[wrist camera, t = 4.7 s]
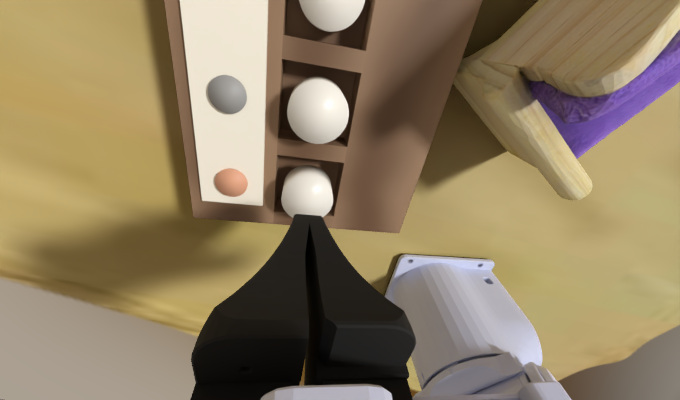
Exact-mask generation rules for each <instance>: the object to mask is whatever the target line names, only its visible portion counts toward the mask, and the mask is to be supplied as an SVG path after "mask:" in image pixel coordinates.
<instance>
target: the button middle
mask: <svg viewBox="0 0 680 400" xmlns="http://www.w3.org/2000/svg"><path fill="white" fill-rule="evenodd" d="M287 116H288V121H289V124H290V126H291V128H292V130H293V131H294V132H295V133H296V135H297V136H299V137H300V138H301V139H303V140H305V141H307V142H310V143H314V144H324V143H328V142H330V141H333V140H334V139H336V138H337V137H338V136H340V134H341V133H342V132H343V131H344V129H345V127H346V125H347V123H348V118H349V108H348V104H347V101H346V99H345V97H344V95H343V93H342V91H341V90H340V88H339V87H338V86H337V85H336V84H335V83H334V82H333V81H331V80H330V79H328V78H325V77H321V76H312V77H308V78H306V79H304V80H302V81H301V82H299V83H298V84H297V85H296V86H295V88H294V89H293V91H292V93H291V96H290V100H289V103H288V108H287Z"/></svg>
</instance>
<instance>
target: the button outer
mask: <svg viewBox="0 0 680 400" xmlns="http://www.w3.org/2000/svg"><path fill="white" fill-rule="evenodd" d="M299 2H300V5H301V8H302V11H303V13H304V15H305V16H306V18H307V19H308V21H309V22H310V23H311V24H312V25H314V26H315V27H316V28H318V29H320V30H323V31H328V32H334V31H340V30H343V29H345V28H347V27H349V26H350V25H351V24H353V23H354V22H355V20H356V19H357V18H358V17H359V15H360V13H361V11H362V9H363V6H364V3H365V0H299Z"/></svg>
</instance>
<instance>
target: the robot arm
mask: <svg viewBox="0 0 680 400" xmlns="http://www.w3.org/2000/svg"><path fill="white" fill-rule="evenodd" d="M410 259H411V260H410ZM494 265H495V264H494V262H493V261H492V260H489V259H473V258H457V257H441V256H424V255H408V254H404V255H401V256H400V257H399V259H398V262H397V264H396V267H395V270H394V272H393V275H392V278H391V280H390V283H389V285H388V288H387V291H386V293H385V296H383V295H382V294H380V293H379V292H378V291H377V290H376V289H374V288H373V287H372V286H371V285H370V284H369V283H368V282H367V281H366V280H365V279H364V278H363V277H362V276H361V275H360V274H359V273H358V272H357V271H356V270H355V269H354V267H353V266H352V265H351V264H350V263H349V261H348V260H347V259H346V257H345V256H344V255H343V253H342V252H341V250H340V249H339V247H338V246H337V244H336V242H335V241H334V239H333V237H332V236H331V234H330V232H329V230H328V228H327V226H326V224H325V221H324V219H323V217H322V216H316V215H304V214H295V215H294V217H293V221H292V223H291V226H290V228H289V230H288V232H287V233H286V235H285V237H284V239H283V240H282V242H281V243H280V245H279V246H278V248H277V249H276V251H275V252H274V254H273V255H272V256H271V257H270V259H269V260H268V261H267V262H266V263H265V265H264V266H263V267H262V268H261V269H260V270H259V271H258V272H257V273H256V274H255V275H254V276H253V277H252V278H251V279H250V280H249V281H248V282H247V283H245V284H244V285H243V286H242V287H241V288H240V289H239V290H237V291H236V292H235V293H234V294H232V295H231V296H230V297H228V298H227V299H226V300H224V301H223V302H222V303H220V304H219V305H217V306H216V307H215V308H214V309H213V311H212V312H211V314H210V316H209V317H208V319H207V321H206V322H205V324H204V326H203V328H202V330H201V332H200V334H199V336H198V339H197V342H196V344H195V347H194V350H193V352H192V358H191V362H192V366H193V371H194V376H195V381H196V384H195V387H194V391H193V394H192V397H191V400H571V398H570V397H569V396H568V394H567V393H566V391H565V390H564V389H563V387H562V386H561V384H560V383H559V382H557V380H556V379H555V378H554V377H553V375H552V374H551V373H550V372H549V370H548V369H546V368H544V367H542V366H541V364H542V350H541V345H540V342H539V338H538V336H537V333H536V331H535V329H534V327H533V326H532V324H531V323H530V321H529V320H528V318H527V317H526V316H525V314H524V313H523V312H522V310H521V309H520V308H519V307H518V305H517V304H516V303H515V301H514V300H513V299H512V297H511V296H510V295H509V293H508V292H507V291H506V290H505V288H504V287H503V286H502V284H501V283H500V282H499V280H498V279H497V278H496V276H495V275H494V274H493V273H492V271H491V270H492V268H493V267H494ZM410 356H411V358H412V361H413V364H414V367H415V370H416V374H417V377H418V380H419V383H420V386H421V389H422V391H420V392H418V393H417V394H415V395H414V396H415V397H412V396H411V392H410V388H409V385H408V381H407V379H408V377H409V372H408V369H407V366H406V363H407V361H408V359H409V358H410ZM304 360H305V381H304V386H299V383H300V381H301V376H302V371H303V365H304ZM0 400H3V399H0Z"/></svg>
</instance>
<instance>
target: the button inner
mask: <svg viewBox="0 0 680 400" xmlns="http://www.w3.org/2000/svg"><path fill="white" fill-rule="evenodd" d="M281 202H282V206H283V208H284V210H285V212H286V213H287V214H288V215H289V216H291V217H292V218H293V217H294V215H295V214H304V215H316V216H322V217H324V216H325V215H326V214H327V213H328V212H329V211H330V209H331V207H332V205H333V194H332V187H331V181H330V178H329V176H328V175H327V174H326V173H325V171H323V170H322V169H320V168H318V167H316V166H312V165H302V166H298V167H296V168H294V169H293V170H291V171H290V172H289V173H288V174H287V176H286V178H285V180H284V185H283V191H282V197H281Z"/></svg>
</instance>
